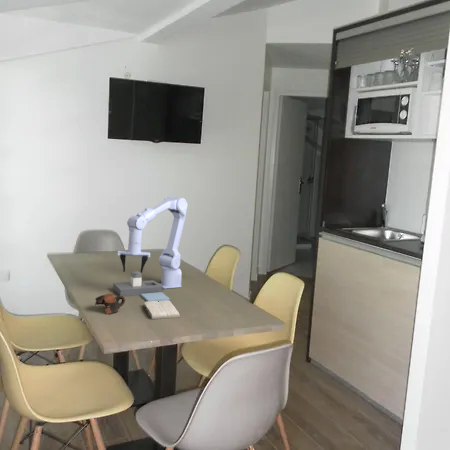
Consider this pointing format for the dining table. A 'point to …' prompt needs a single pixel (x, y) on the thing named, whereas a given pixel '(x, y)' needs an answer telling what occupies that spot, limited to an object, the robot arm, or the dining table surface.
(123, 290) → the gray socket board
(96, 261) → the dining table surface
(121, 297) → the broken clay pot
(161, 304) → the washcloth
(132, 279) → the plug
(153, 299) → the pad
